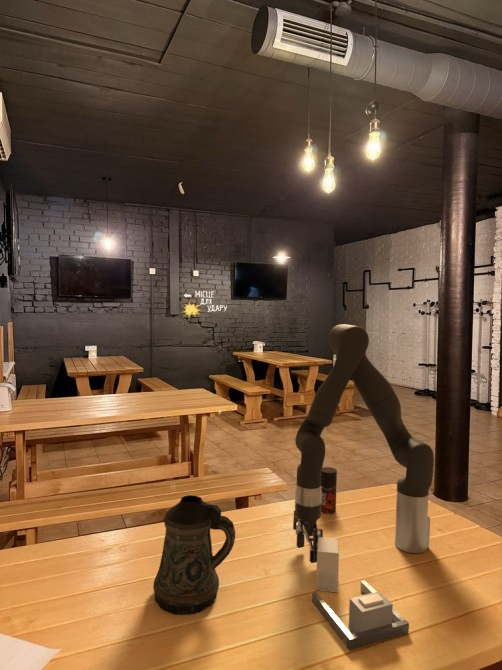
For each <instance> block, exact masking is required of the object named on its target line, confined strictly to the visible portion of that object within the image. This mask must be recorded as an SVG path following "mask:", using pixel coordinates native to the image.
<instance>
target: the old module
mask: <svg viewBox="0 0 502 670" xmlns="http://www.w3.org/2000/svg"><path fill="white" fill-rule="evenodd" d="M348 605H349V608H348V609H349V611H348V613H349V614H348V630H349V631H350V632H352V634H355V633H359V632H363V631H366V630H370V629H374V628H377V627H381V626H385V625H388V624H392V609H393V608H394V607H393V606H394V605H393V603H392V602H391V601H390V600H389V599H388V598H387V597H385V596H384V595H383V594H382V592H381V591H380V590H379V591H376V592H374V593H369V594H362V595H357V596H354V597H350V598H349V604H348Z"/></svg>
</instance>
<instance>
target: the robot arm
mask: <svg viewBox="0 0 502 670" xmlns="http://www.w3.org/2000/svg"><path fill="white" fill-rule="evenodd" d="M328 343H329V346H330V349H331V351H332V352H333V353H334V355H335V356H336V359H335V362H334V364H333V367H332V368H331V370H330V372H329V373H328V375H327V377H326V378H325V379H324V381H323V382H322V383H321V385H320V386H319V387H318V389H317V390H316V393H315V395H314V397H313V400H312V403H311V406H310V408H309V410H308V413H307V415H306V417H305V418H304V420H303V422H302V423H301V425H300V427H299V428H298V430H297V432H296V436H295V440H294V441H295V446H296V448H297V449H298V450H299V451H300V463H299V464H298V466H297V467H296V468H297V469H296V484H295V485H296V487H295V496H294V498H295V499H294V503H295V504H294V510H293V520H292V521H293V522H292V523H293V524H292V528H293V530H294V531H295V534H296V547H297V548H298V549H300V548H304V547H305V540H306V542H307V543H308V546H309V562H310V563H311V564H313V563H314V564H315V563H317V549H318V537H324V534H323V533H324V531H323V528H318V520H319V519H320V518H321V517H322V513H321V500H322V491H321V470H322V468H323V467H324V461H325V459H326V458H325V456H326V443H325V440H324V439H323V437H321V435H322V434H323V432H324V429H325V428H327V427H329V426H331V424H332V422H333V420H334V418H335V415H336V411H337V409H338V406H339V404H340V402H341V399H342V396H343V394H344V393H345V389H346V388H347V386H348V384H349V382H350V380H352V382H353V384H354V386H355V387H356V389H357V391H358V393H359V395H360V396H361V399H362V401H363V402H364V404H365V406H366V407H367V410H368V411H369V413H370V414H371V416H372V417H373V419H374V420H375V423H376V424H377V425H378V428H379V429H380V431H381V432H382V434H383V436H384V438H385V440H386V442H387V445H388V447H389V449H390V452H391V454H392V456H393V458H394V460H395V461H396V462H397V463H398V464H399V465H400V466H402V467H404V468H405V469H406V470H405V471H406V473H405V477H402V478H399V479H398V480H397V482H396V503H395V504H396V506H395V532H394V533H395V534H394V545H395V546H396V548H398V549H399V550H401V551H404V552H406V553H410V554H421V553H425V551H427V549H429V548H430V539H431V538H430V536H431V535H430V534H431V533H430V532H431V517H430V516H429V495H430V494H429V493H430V492H429V491H430V488H431V486H432V482H433V476H434V475H433V473H434V465H435V464H434V463H435V456H434V451H433V449H432V447H431V446H430V445H428V444H427V443H425V442H423V441H420V440H419V439H416V438H415V437H413V435H411V433H410V432H409V430H408V429H407V427H406V426H405V424H404V422H403V419H402V405H401V403H400V400H399V397H398V395H397V394H396V392H395V390H394V388H393V387H392V385H391V383H390V382H389V381H388V380H387V378H386V377H385V376H384V375H383V374H382V373H381V372H380V371H379V370H378V369H377V367H376V366H374V364H373V363H372V362H371V361H370V360H369V359H368V356H367V355H366V352H367V350H368V347H369V345H370V344H369V343H370V339H369V335H368V332H367V330H365V329H364V328H363V327H361V326H357V325H354V324H353V325H351V324H346V323H343V324H337V325H335V326H333V327H332V328H331V330H330V331H329V335H328Z"/></svg>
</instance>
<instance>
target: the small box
mask: <svg viewBox="0 0 502 670" xmlns="http://www.w3.org/2000/svg"><path fill="white" fill-rule="evenodd" d="M339 552H340V549H339V538H333V537H324V536H323V537H318V549H317V562H316V585H315V586H316V591H322V592H331V593H338V592H339V565H340V563H339V561H340V559H339V558H340V554H339Z"/></svg>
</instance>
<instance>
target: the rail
mask: <svg viewBox="0 0 502 670" xmlns="http://www.w3.org/2000/svg"><path fill="white" fill-rule="evenodd" d="M360 591H361V592H362V594H363V595H365V594H369V593H374V592H377V591H376V590H375V588H373V587H372V586H371V585H370V584H369V583H368V582H367V581H366V580H361V581H360ZM311 602H312V604H313V605H314V607H315V608H316V609H317V610H318V612H319V613H320V615H321V616H322V617H323V618H324V620H325V621H326V622H327V624H328V625H329V626H330V627H331V629H332V630H333V631H334V632H335V634H336V635H337V636H338V638H339V639H340V640H341V641H342V642H343V644H344V645H345V647H346V648H347V649H348V651H349V652H351V651H354V650H356V649H357V650H358V649H361V648H364V647H367V646H372V645H374V644H378V643H381V642H385V641H389V640H393V639H395V638H396V639H397V638H398V637H403V636H406V635H409V632H410V630H409V629H410V622H408V621H407V620H406V619H405V618H404V617H403V616H402V615H401V614H400V613H399V612H398V611H397V610H396V609H395V608H394V607H393V609H392V624H388V625H385V626H381V627H377V628H374V629H370V630H366V631H363V632H359V633H355V634H354V633H351V631H350V629H349V628H347V627H346V626H345V624H344V623H343V622H342V621H341V619H340V617H338V616H337V614H335V612H334V610H332V608H330V606H329V605H328V604H327V603H326V601H325V600H324V599H323V598H322V596H321V595H320V593H318V590H315V591H312V592H311Z"/></svg>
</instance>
